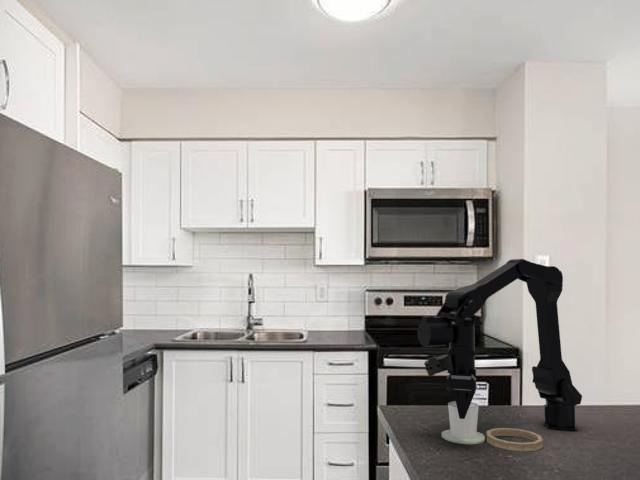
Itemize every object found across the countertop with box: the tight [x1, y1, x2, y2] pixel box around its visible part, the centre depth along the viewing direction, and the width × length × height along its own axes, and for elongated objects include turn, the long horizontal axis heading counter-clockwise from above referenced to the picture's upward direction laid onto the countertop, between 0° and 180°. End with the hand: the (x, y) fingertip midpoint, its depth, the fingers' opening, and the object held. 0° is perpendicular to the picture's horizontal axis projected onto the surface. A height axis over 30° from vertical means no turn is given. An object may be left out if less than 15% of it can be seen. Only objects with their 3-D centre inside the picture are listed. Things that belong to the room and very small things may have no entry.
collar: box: [486, 427, 544, 452], centre depth 116 cm, size 12×12×2 cm
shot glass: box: [447, 400, 480, 439], centre depth 120 cm, size 7×7×7 cm
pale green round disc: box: [441, 428, 486, 445], centre depth 120 cm, size 10×10×1 cm
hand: (462, 413), depth 120 cm, fingers open, 9 cm apart
